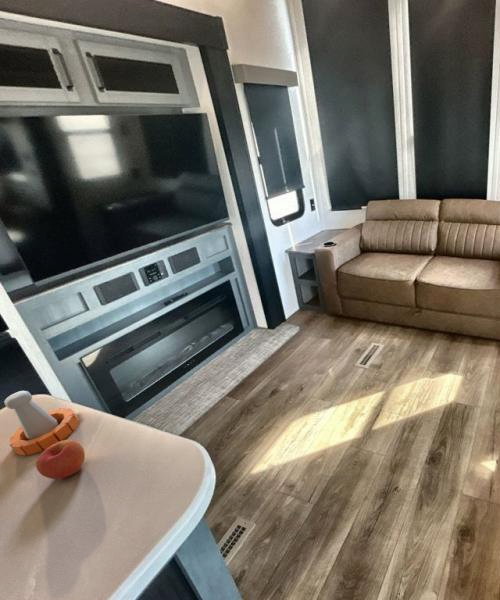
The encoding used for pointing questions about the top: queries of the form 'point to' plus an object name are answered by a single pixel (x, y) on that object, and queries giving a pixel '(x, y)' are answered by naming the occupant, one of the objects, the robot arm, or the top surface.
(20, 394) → the salt shaker
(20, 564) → the top surface
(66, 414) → the orange ring
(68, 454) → the apple
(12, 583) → the top surface
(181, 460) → the top surface
